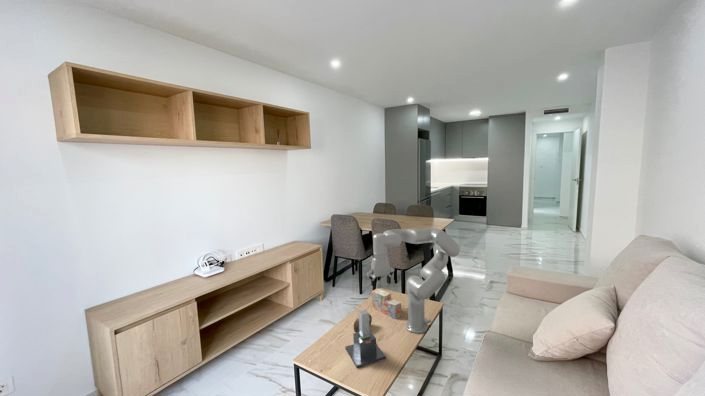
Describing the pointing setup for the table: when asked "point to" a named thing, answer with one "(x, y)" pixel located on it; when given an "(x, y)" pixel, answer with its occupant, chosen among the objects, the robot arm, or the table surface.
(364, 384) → the table surface
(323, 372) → the table surface
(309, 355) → the table surface
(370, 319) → the tin
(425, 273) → the robot arm
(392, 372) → the table surface
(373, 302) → the stack of blocks
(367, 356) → the jack base
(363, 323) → the bar
